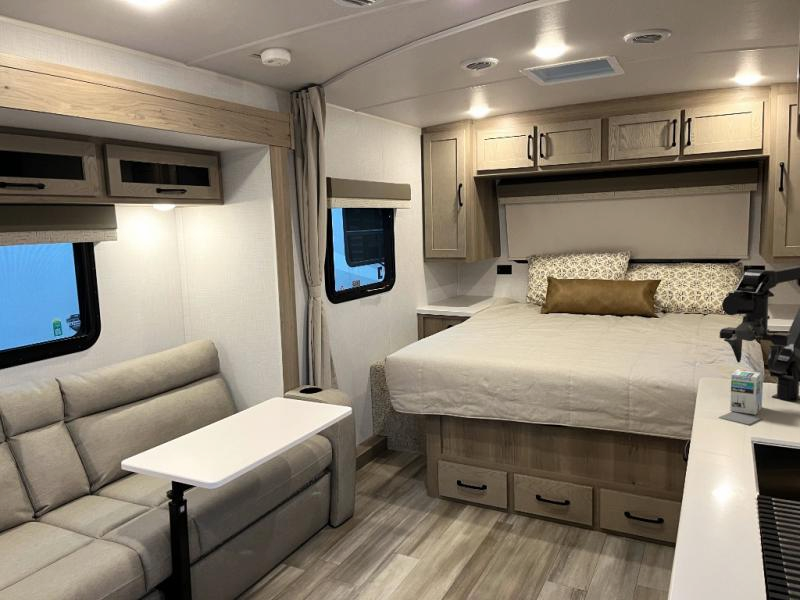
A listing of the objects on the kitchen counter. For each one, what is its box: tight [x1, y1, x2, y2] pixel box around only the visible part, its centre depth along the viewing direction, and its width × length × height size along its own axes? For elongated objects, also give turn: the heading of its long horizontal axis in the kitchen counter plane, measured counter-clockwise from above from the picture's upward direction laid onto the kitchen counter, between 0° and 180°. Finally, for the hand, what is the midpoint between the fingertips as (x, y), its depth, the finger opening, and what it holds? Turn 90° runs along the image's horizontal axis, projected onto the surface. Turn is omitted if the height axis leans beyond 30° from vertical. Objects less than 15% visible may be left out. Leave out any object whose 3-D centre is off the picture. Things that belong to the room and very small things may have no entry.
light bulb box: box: [729, 368, 764, 416], centre depth 174 cm, size 11×7×11 cm, turn 141°
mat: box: [718, 411, 764, 426], centre depth 167 cm, size 8×8×1 cm
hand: (755, 364), depth 179 cm, fingers open, 9 cm apart
